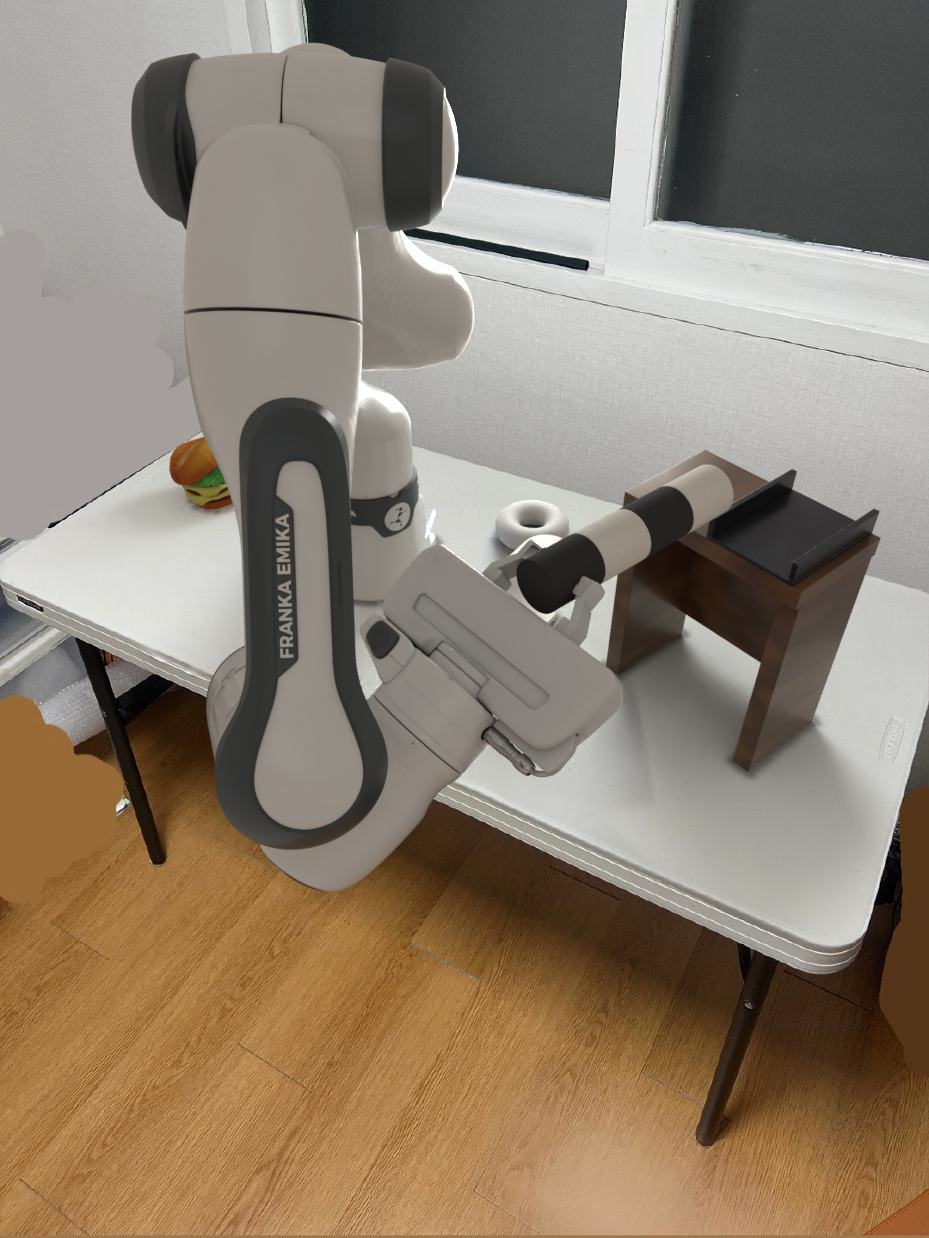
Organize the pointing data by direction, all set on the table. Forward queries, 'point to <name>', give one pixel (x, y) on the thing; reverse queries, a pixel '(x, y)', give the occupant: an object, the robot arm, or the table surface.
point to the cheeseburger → (199, 475)
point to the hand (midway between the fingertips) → (568, 564)
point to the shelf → (740, 614)
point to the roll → (624, 537)
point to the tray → (787, 530)
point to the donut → (530, 522)
